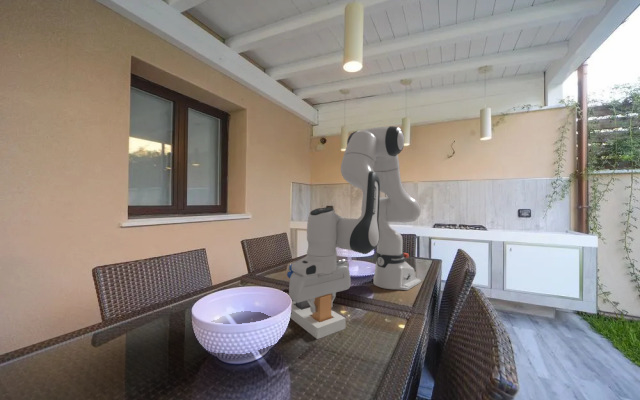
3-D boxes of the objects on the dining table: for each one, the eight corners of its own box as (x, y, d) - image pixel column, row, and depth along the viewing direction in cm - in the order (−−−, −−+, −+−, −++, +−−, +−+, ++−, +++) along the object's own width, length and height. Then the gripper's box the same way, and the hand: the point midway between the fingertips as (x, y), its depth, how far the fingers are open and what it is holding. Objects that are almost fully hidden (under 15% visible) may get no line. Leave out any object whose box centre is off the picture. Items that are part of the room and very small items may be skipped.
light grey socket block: (308, 307, 93) (308, 296, 92) (345, 331, 76) (345, 318, 76) (283, 315, 87) (283, 303, 87) (317, 342, 70) (317, 328, 70)
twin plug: (306, 310, 88) (306, 282, 88) (312, 314, 85) (312, 285, 85) (295, 313, 86) (295, 284, 86) (302, 317, 83) (301, 288, 83)
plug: (323, 317, 80) (323, 286, 80) (331, 322, 77) (331, 289, 77) (312, 320, 78) (312, 288, 78) (320, 325, 74) (320, 292, 74)
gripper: (342, 256, 86) (341, 298, 86) (286, 265, 74) (286, 314, 74) (355, 260, 80) (355, 304, 81) (297, 271, 69) (297, 323, 69)
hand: (321, 309), depth 77 cm, fingers closed on plug, 4 cm apart
